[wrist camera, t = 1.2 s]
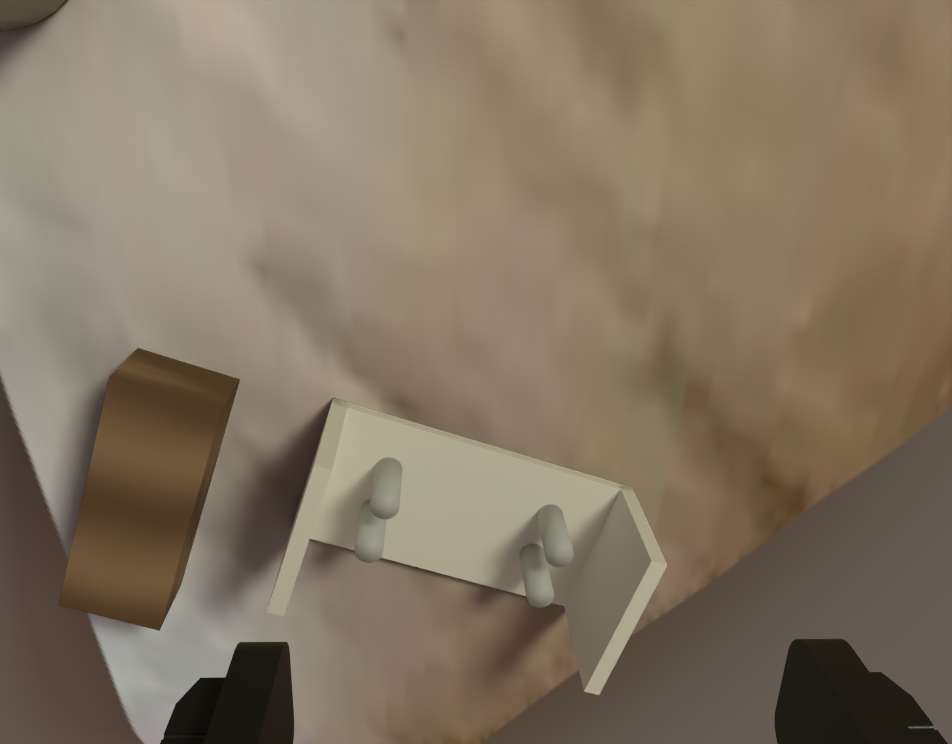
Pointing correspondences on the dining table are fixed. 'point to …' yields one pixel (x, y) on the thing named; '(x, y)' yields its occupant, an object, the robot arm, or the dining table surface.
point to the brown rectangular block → (146, 487)
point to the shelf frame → (480, 524)
